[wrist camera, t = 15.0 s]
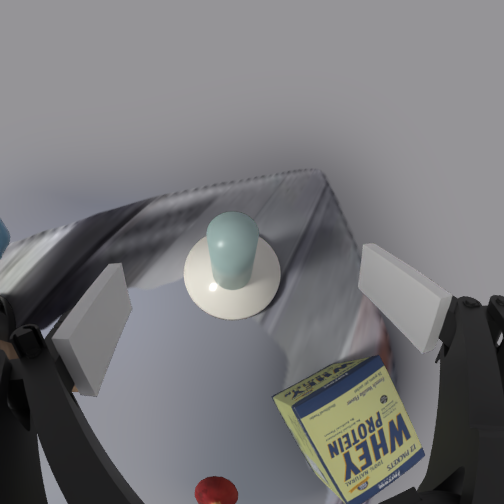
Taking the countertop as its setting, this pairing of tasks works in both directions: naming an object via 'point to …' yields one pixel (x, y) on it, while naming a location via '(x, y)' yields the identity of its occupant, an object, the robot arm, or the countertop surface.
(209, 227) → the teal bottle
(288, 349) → the countertop surface
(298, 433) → the protein box
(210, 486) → the red fruit
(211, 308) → the cream plate
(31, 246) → the countertop surface
